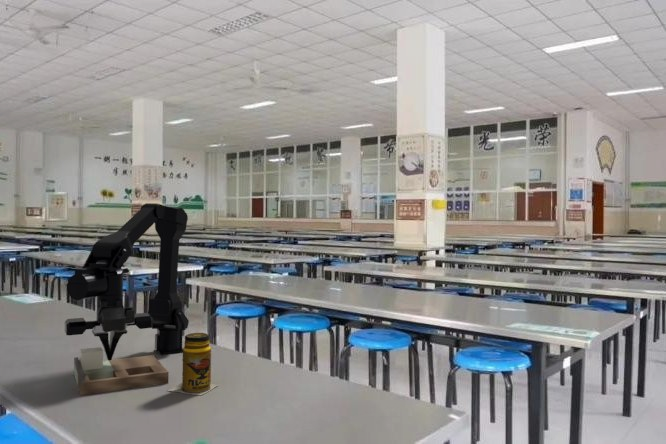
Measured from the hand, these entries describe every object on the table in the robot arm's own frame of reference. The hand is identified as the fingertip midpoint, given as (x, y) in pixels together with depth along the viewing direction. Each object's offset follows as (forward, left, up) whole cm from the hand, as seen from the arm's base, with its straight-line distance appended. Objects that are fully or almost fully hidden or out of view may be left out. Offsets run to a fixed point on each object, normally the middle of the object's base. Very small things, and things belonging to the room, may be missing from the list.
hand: (109, 360), depth 128 cm
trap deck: (-2, +4, -4) cm, 6 cm away
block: (+4, 0, -1) cm, 4 cm away
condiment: (-15, +18, -4) cm, 24 cm away
